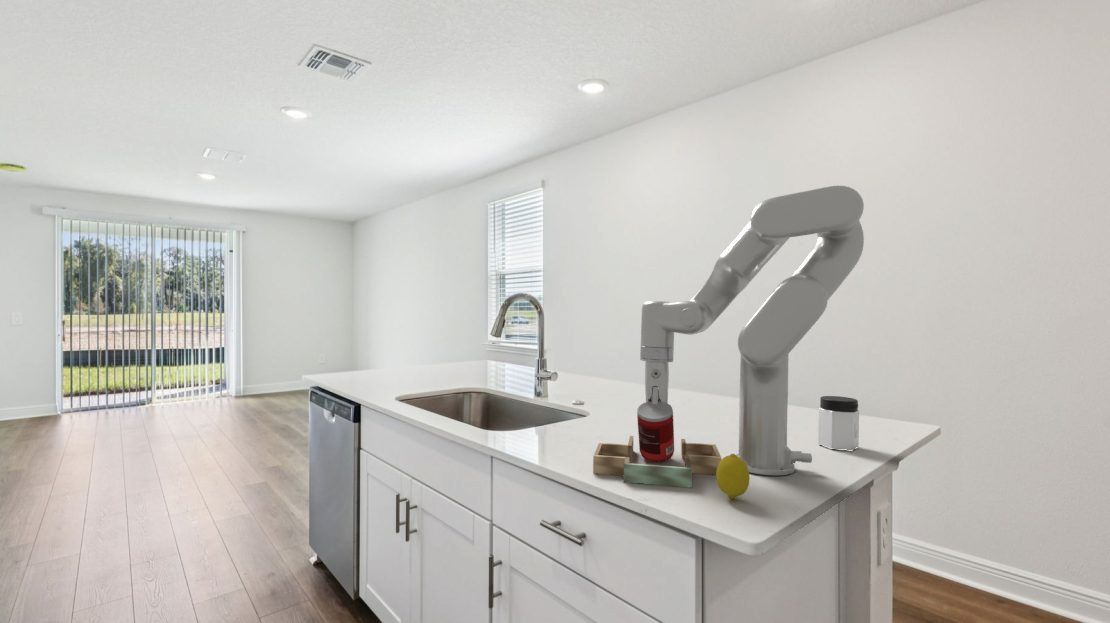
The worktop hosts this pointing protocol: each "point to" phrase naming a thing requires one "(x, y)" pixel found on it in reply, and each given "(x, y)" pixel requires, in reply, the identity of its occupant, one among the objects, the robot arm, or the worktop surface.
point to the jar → (838, 422)
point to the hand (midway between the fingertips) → (654, 433)
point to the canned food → (656, 431)
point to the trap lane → (619, 456)
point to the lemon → (732, 476)
